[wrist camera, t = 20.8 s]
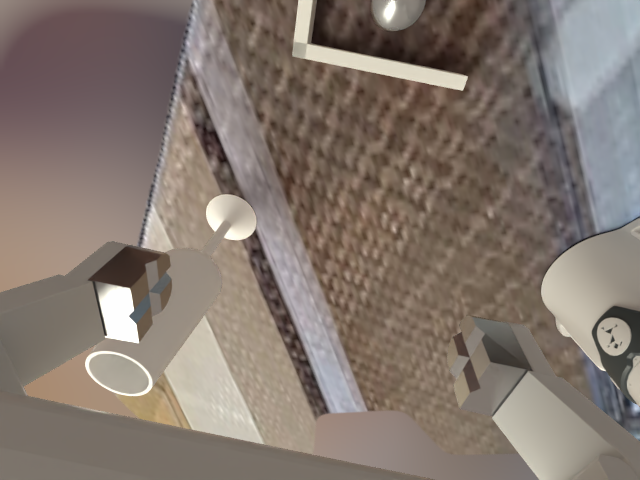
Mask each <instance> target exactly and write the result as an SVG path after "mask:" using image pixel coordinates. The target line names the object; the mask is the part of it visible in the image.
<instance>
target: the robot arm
mask: <svg viewBox="0 0 640 480" xmlns="http://www.w3.org/2000/svg"><path fill="white" fill-rule="evenodd" d="M170 266H171V264H170V256H169V255H168V254H167V253H164V252H159V251H155V250H151V249H146V248H142V247H137V246H133V245H128V244H123V243H118V242H114V241H112V242H107V243H106V244H104V245H103V246H102V247H101V248H99V249H98V250H97V251H96V252H94V253H93V254H92V255H90V256H89V257H88V258H87V259H85V260H84V261H83V262H82V263H80V264H79V265H78V266H77V267H75V268H74V269H73V270H72V271H70V272H69V273H68V274H67V275H65V276H62V275H56V276H53V277H50V278H46V279H43V280H40V281H36V282H33V283H30V284H26V285H23V286H20V287H17V288H13V289H10V290H7V291H4V292H0V480H434V479H430V478H425V477H420V476H415V475H410V474H405V473H400V472H395V471H390V470H385V469H381V468H376V467H370V466H366V465H361V464H356V463H351V462H346V461H341V460H336V459H331V458H326V457H322V456H317V455H312V454H307V453H302V452H298V451H293V450H288V449H283V448H278V447H273V446H268V445H264V444H259V443H254V442H249V441H244V440H239V439H234V438H230V437H225V436H220V435H215V434H210V433H205V432H200V431H195V430H191V429H186V428H181V427H176V426H171V425H166V424H161V423H157V422H152V421H147V420H142V419H137V418H132V417H127V416H122V415H118V414H113V413H108V412H103V411H98V410H93V409H88V408H84V407H79V406H74V405H69V404H64V403H59V402H54V401H49V400H44V399H40V398H35V397H30V396H28V395H27V393H26V391H25V389H24V386H25V385H27V384H29V383H31V382H32V381H34V380H36V379H37V378H39V377H41V376H43V375H44V374H46V373H48V372H50V371H51V370H53V369H55V368H56V367H58V366H60V365H61V364H63V363H65V362H66V361H68V360H70V359H72V358H74V357H75V356H77V355H79V354H81V353H82V352H84V351H86V350H87V349H89V348H91V347H93V346H94V345H96V344H98V343H99V342H101V341H103V340H105V337H107V338H113V339H119V340H124V341H130V342H136V343H139V342H140V341H141V340H142V338H143V337H144V335H145V334H146V333H147V331H148V330H149V329H150V327H151V326H152V325H153V320H152V316H154V315H156V314H159V313H161V312H162V311H163V309H164V308H165V307H166V305H167V303H168V301H169V298H170V296H171V291H172V279H171V277H170V276H169V275H168V274H167V272H166V271H167V270H168V269H169V268H170ZM541 294H542V299H543V302H544V304H545V305H546V307H547V308H548V309H549V310H550V311H551V312H552V313H553V315H554V316H555V318H556V326H557V329H558V330H559V331H560V332H561V334H562V335H564V336H566V337H572V338H573V339H574V341H575V342H576V343H577V344H578V345H579V346H580V347H581V349H582V350H583V351H584V352H585V353H586V354H587V355H588V357H589V358H590V359H591V360H592V361H593V362H594V363H595V364H596V366H597V367H599V368H600V369H601V370H603V371H606V372H607V373H608V374H609V376H610V377H611V378H610V379H611V380H612V381H613V383H614V384H615V385H616V387H617V388H618V389H620V390H621V391H622V392H623V393H624V395H625V396H626V397H627V398H628V399H629V400H630V401H632V402H633V403H635V404H637V405H638V406H639V407H640V218H638V219H637V220H635V221H633V222H631V223H629V224H628V225H626V226H624V227H623V228H621V229H618V230H615V231H612V232H608V233H604V234H600V235H597V236H594V237H592V238H589V239H587V240H584V241H582V242H580V243H578V244H577V245H575V246H573V247H572V248H570V249H569V250H567V251H566V252H565V253H563V254H562V255H561V256H560V257H559V258H558V259H557V260H556V261H555V262H554V263H553V264H552V265H551V267H550V268H549V270H548V271H547V273H546V275H545V277H544V279H543V282H542V288H541ZM459 326H460V329H461V333H459V334H457V335H455V336H453V337H452V339H451V341H450V344H449V346H448V352H447V363H448V367H449V371H450V372H451V373H452V374H453V375H454V377H455V378H456V379H457V380H456V382H455V384H454V385H453V386H454V390H455V394H456V398H457V401H458V405H459V409H462V410H467V411H471V412H475V413H480V414H484V415H488V416H492V419H493V420H494V421H495V423H496V424H497V425H498V427H499V428H500V429H501V430H502V432H503V433H504V434H505V436H506V437H507V438H508V440H509V441H510V442H511V443H512V445H513V446H514V447H515V449H516V450H517V451H518V453H519V454H520V455H521V457H522V458H523V459H524V460H525V462H526V463H527V464H528V466H529V467H530V468H531V470H532V471H533V472H534V473H535V475H536V476H537V477H538V479H539V480H640V441H638V440H637V439H636V438H635V437H634V436H632V435H631V434H630V433H629V432H627V431H626V430H625V429H624V428H623V427H621V426H620V425H619V424H618V423H617V422H615V421H614V420H613V419H612V418H610V417H609V416H608V415H607V414H606V413H604V412H603V411H602V410H601V409H599V408H598V407H597V406H596V405H595V404H593V403H592V402H591V401H590V400H589V399H587V398H586V397H585V396H584V395H582V394H581V393H580V392H579V391H578V390H576V389H575V388H574V387H573V386H572V385H570V384H569V383H568V382H567V381H565V380H564V379H563V378H561V377H556V376H555V374H554V372H553V370H552V369H551V367H550V365H549V364H548V362H547V360H546V358H545V357H544V355H543V353H542V351H541V350H540V348H539V346H538V345H537V343H536V341H535V339H534V338H533V336H532V334H531V332H530V331H529V329H528V328H527V327H525V326H524V325H520V324H514V323H509V322H501V321H496V320H491V319H486V318H481V317H476V316H471V315H466V316H465V317H464V318H463V319H462V321H461V323H460V324H459Z"/></svg>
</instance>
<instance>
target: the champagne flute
mask: <svg viewBox="0 0 640 480" xmlns="http://www.w3.org/2000/svg"><path fill="white" fill-rule="evenodd" d="M206 216H207V220H208V223H209V224H210V226H211V228H212V229H213V230H214V231H215V233H214V234H213V236H212V237H211V238H210V240H209V241H208V242H207V244H206V245H205V246H204V248H203V249H202V250H201V251H200V250H197V249H193V248H177V249H172V250H169V251H167V252H165V253H167V254H168V255H169V256H170V264H171V266H170V268H169V269H168V270H167V271H166V272H167V274H168V275H169V276H170V277H171V279H172V291H171V296H170V298H169V301H168V303H167V305H166V307H165V308H164V309H163V311H162V312H161V313H159V314H156V315H154V316H152V320H153V325H152V326H151V327H150V329H149V330H148V331H147V333H146V334H145V335H144V337H143V338H142V340H141V341H140V342H139V343H136V342H130V341H124V340H119V339H113V338H107V337H105V340H103V341H101V342H99V343H98V344H96V346H95V347H94V349H93V350H92V352H91V353H90V354H89V356H88V357H87V359H86V363H85V366H86V370H87V371H88V373H89V375H90V376H91V377H92V378H93V379H94V380H95V381H96V382H97V383H98V384H100V385H101V386H103V387H104V388H106V389H108V390H110V391H112V392H115V393H118V394H122V395H127V396H139V395H143V394H146V393H147V392H149V391H150V389H151V388H152V387H153V385H154V384H155V382H156V381H157V380H158V378H159V377H160V376H161V374H162V373H163V371H164V370H165V369H166V367H167V366H168V365H169V363H170V362H171V360H172V359H173V358H174V356H175V355H176V354H177V352H178V351H179V349H180V348H181V347H182V345H183V344H184V342H185V341H186V340H187V338H188V337H189V336H190V334H191V333H192V331H193V330H194V329H195V327H196V326H197V325H198V323H199V322H200V320H201V319H202V318H203V316H204V315H205V314H206V312H207V311H208V309H209V308H210V307H211V305H212V304H213V303H214V301H215V300H216V298H217V297H218V296H219V294H220V291H221V288H222V278H221V273H220V270H219V268H218V266H217V264H216V263H215V261H214V260H213V259H212V258H211V255H212V254H213V252H214V251H215V249H216V248H217V246H218V245H219V244H220V242H221V241H222V239H223V238H227V239H230V240H242V239H245V238H247V237H249V236H250V235H251V234H252V233H253V232H254V230H255V228H256V223H257V221H256V215H255V212H254V210H253V209H252V207H251V206H250V205H249V204H248V203H247V202H246V201H245V200H243V199H242V198H240V197H238V196H235V195H229V194H224V195H219V196H217V197H215V198H213V199H212V200H211V201H210V203H209V204H208V206H207V210H206Z"/></svg>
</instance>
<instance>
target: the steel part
mask: <svg viewBox="0 0 640 480" xmlns="http://www.w3.org/2000/svg"><path fill="white" fill-rule="evenodd" d="M425 2H426V0H372V1H371V15H372V18H373V21H374V22H375V24H376V25H377V26H378V27H379V28H380V29H382V30H384V31H389V32H392V31H398V30H402V29H405V28H407V27H409V26H411V25H412V24H413V23H415V21H416V20H417V19H418V18H419V17H420V15H421V13H422V11H423V9H424V6H425Z"/></svg>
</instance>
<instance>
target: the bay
mask: <svg viewBox="0 0 640 480" xmlns="http://www.w3.org/2000/svg"><path fill="white" fill-rule="evenodd" d="M316 4H317V0H299V1H298V10H297V19H296V27H295V36H294V45H293V54H292V56H294V57H299V58H304V59H309V60H314V61H319V62H324V63H329V64H333V65H338V66H343V67H348V68H353V69H358V70H363V71H368V72H373V73H378V74H383V75H388V76H393V77H398V78H403V79H408V80H412V81H417V82H422V83H427V84H432V85H437V86H442V87H447V88H452V89H457V90H462V91H463V89H464V86H465V84H466V81H467V78H468V76H465V75H462V74H460V73H455V72H450V71H445V70H440V69H435V68H430V67H425V66H420V65H415V64H410V63H405V62H400V61H395V60H390V59H385V58H381V57H376V56H371V55H366V54H361V53H356V52H351V51H346V50H341V49H336V48H331V47H326V46H321V45H316V44H311V41H312V33H313V26H314V19H315V12H316Z"/></svg>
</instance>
